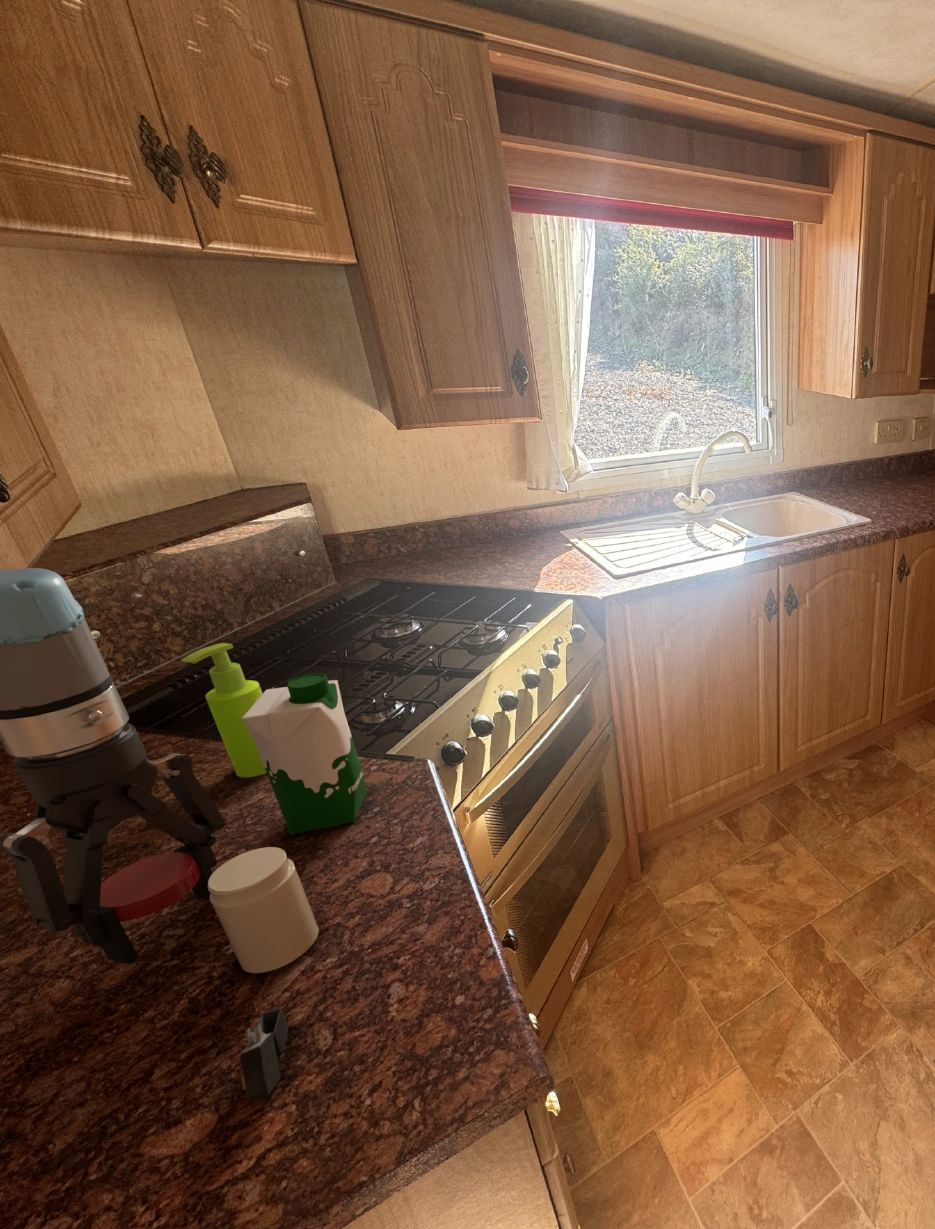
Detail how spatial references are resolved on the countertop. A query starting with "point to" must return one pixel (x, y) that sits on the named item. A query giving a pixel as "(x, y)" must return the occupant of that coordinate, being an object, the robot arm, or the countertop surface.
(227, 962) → the countertop surface
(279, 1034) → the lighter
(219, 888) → the jam jar
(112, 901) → the jam lid
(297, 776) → the milk carton
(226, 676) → the soap dispenser
